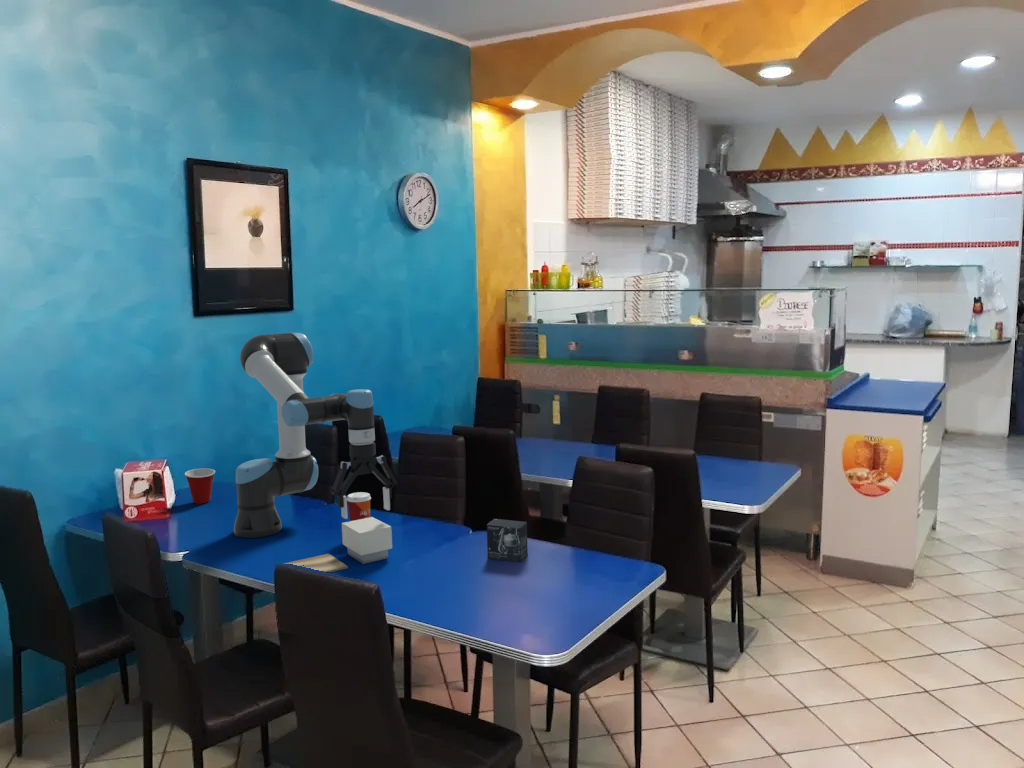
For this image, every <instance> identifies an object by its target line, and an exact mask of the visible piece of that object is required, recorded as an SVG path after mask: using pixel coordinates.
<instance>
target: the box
mask: <svg viewBox="0 0 1024 768" xmlns="http://www.w3.org/2000/svg"><path fill="white" fill-rule="evenodd" d="M486 542H487V543H486V544H487V545H486V546H487V551H486V552H487V559H489V560H490V559H491V560H497V561H498V560H499V561H507V562H514V563H521V562H522V561H524V560H525V559H526V558H527V557H528V555H529V552H528V522H527V521H520V520H510V519H502V518H493V519H492V520H490V521H489V522H488V523H487V524H486Z"/></svg>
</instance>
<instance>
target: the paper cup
mask: <svg viewBox="0 0 1024 768" xmlns="http://www.w3.org/2000/svg"><path fill="white" fill-rule="evenodd" d="M371 500H372V497H371V494H370V493H368V492H364V491H363V492H362V491H360V492H359V491H357V492H352V493H349V494H348V495H347V509H348V515H349V517H348V518H349V521H354V520H359V519H364V518H369V517H371Z"/></svg>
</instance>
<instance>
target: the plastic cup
mask: <svg viewBox="0 0 1024 768" xmlns="http://www.w3.org/2000/svg"><path fill="white" fill-rule="evenodd" d="M215 473H216V470H215V469H212V468H193V469H189V470H187V471H185V472H184V475H185V477H186V481H187V483H188V486H189V487H188V488H189V491H190V495H191V499H192V501H193V504H194V503H196V504H195V505H203V504H202V503H206V504H208V503H207V502H209V501H210V502H211V499H212V497H211V496H212V491H213V482H214V481H213V480H214V475H215ZM210 502H209V503H210Z"/></svg>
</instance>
